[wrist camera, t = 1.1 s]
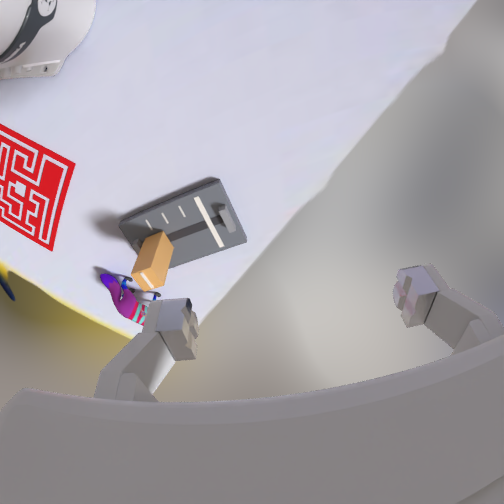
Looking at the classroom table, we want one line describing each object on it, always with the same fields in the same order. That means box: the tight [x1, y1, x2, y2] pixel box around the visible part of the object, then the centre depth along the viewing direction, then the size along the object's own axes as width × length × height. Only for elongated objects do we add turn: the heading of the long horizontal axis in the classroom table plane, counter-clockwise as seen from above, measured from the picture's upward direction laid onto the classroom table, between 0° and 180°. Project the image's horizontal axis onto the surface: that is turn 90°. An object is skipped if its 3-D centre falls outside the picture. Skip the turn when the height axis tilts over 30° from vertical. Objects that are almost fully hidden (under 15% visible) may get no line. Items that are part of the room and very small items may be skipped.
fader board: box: [119, 179, 247, 269], centre depth 46 cm, size 18×11×3 cm, turn 110°
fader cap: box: [131, 231, 174, 292], centre depth 43 cm, size 4×4×9 cm
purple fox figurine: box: [100, 274, 161, 326], centre depth 51 cm, size 4×18×10 cm, turn 51°
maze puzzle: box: [0, 124, 75, 251], centre depth 40 cm, size 20×20×1 cm
